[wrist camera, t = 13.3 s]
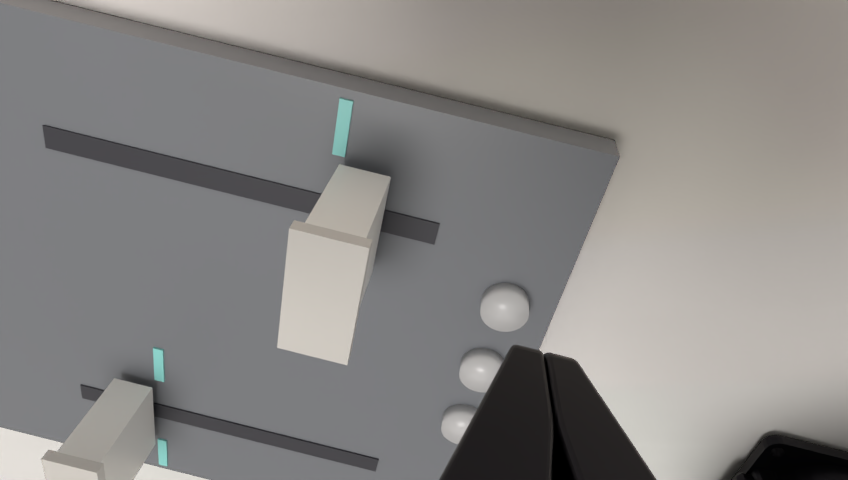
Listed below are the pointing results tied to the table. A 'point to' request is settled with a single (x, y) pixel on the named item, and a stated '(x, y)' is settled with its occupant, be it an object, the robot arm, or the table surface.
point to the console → (263, 247)
